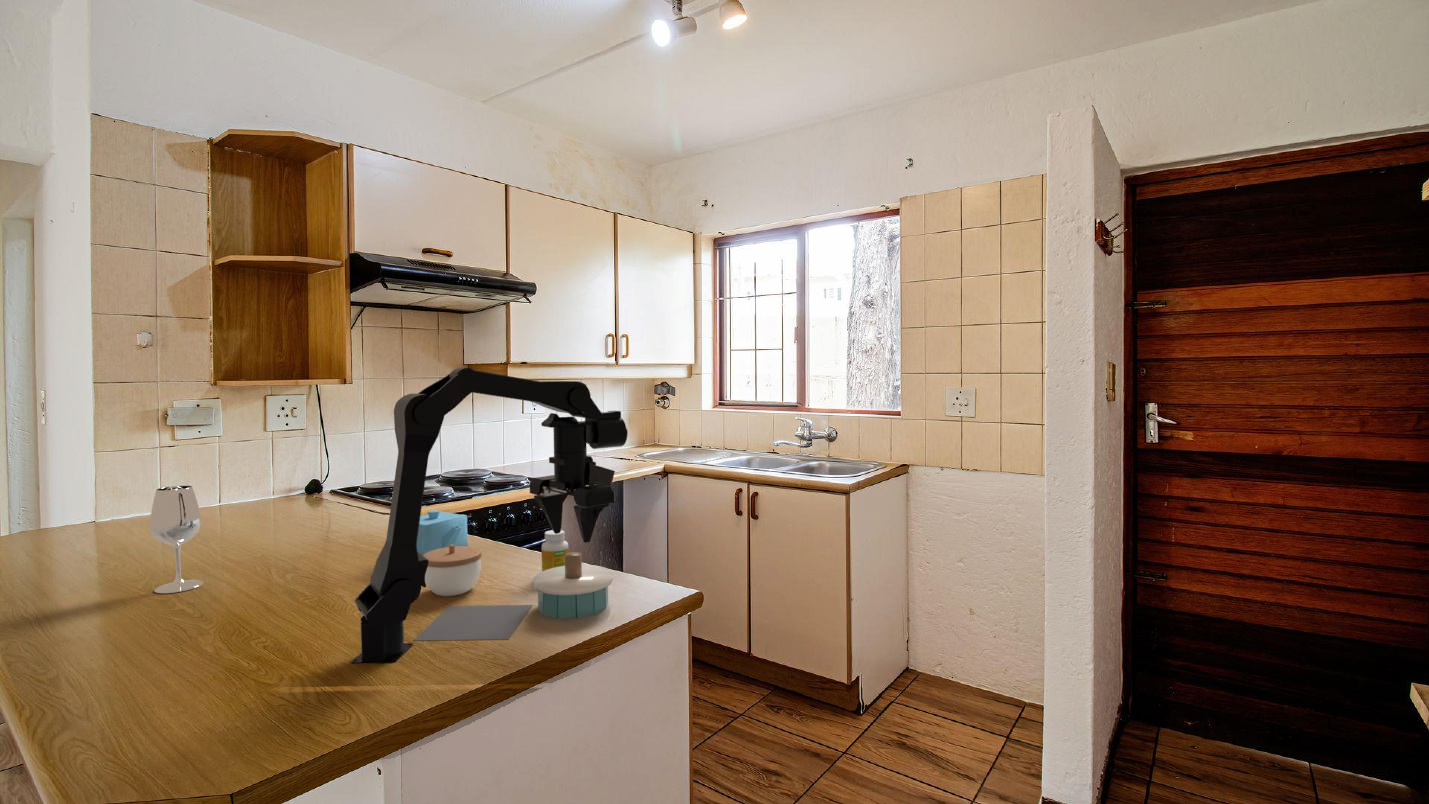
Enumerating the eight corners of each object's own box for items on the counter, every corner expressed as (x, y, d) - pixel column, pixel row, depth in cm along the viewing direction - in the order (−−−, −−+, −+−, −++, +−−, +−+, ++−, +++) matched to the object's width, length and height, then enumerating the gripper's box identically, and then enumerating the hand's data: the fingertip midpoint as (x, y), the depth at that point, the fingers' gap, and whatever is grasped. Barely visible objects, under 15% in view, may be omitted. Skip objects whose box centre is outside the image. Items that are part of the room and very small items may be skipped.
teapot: (428, 575, 138) (426, 522, 137) (378, 562, 147) (376, 512, 147) (489, 556, 151) (488, 508, 151) (439, 545, 161) (438, 500, 160)
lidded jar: (462, 604, 121) (460, 554, 120) (410, 600, 123) (408, 551, 122) (492, 585, 131) (491, 539, 131) (444, 582, 133) (443, 536, 133)
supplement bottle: (555, 584, 132) (554, 536, 131) (536, 579, 135) (535, 533, 134) (574, 577, 136) (573, 530, 136) (555, 572, 139) (555, 527, 139)
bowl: (602, 621, 113) (601, 592, 112) (531, 622, 112) (531, 593, 112) (611, 597, 125) (611, 571, 124) (548, 597, 124) (547, 571, 124)
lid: (607, 594, 111) (606, 565, 111) (524, 595, 111) (523, 566, 111) (617, 569, 125) (616, 543, 125) (543, 570, 125) (543, 544, 125)
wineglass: (145, 590, 129) (140, 489, 128) (192, 578, 136) (187, 483, 135) (165, 596, 125) (160, 493, 124) (211, 584, 132) (207, 486, 131)
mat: (508, 642, 104) (508, 639, 104) (413, 643, 104) (413, 640, 104) (532, 607, 119) (532, 604, 119) (449, 608, 119) (449, 605, 119)
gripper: (638, 451, 116) (639, 538, 117) (578, 443, 129) (579, 521, 130) (586, 457, 108) (588, 551, 109) (527, 448, 121) (529, 532, 122)
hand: (571, 537), depth 118 cm, fingers open, 9 cm apart
